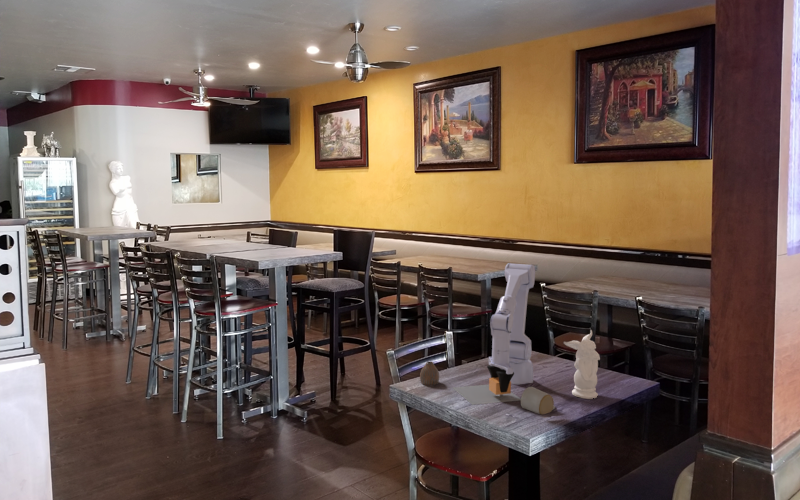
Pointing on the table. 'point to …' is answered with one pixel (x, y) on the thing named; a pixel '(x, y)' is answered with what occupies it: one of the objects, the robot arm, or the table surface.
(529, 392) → the ceramic mug
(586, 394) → the cherub figurine
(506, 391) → the robot arm
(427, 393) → the table surface
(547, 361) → the table surface
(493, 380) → the orange cubby crate
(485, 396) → the board
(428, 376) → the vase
